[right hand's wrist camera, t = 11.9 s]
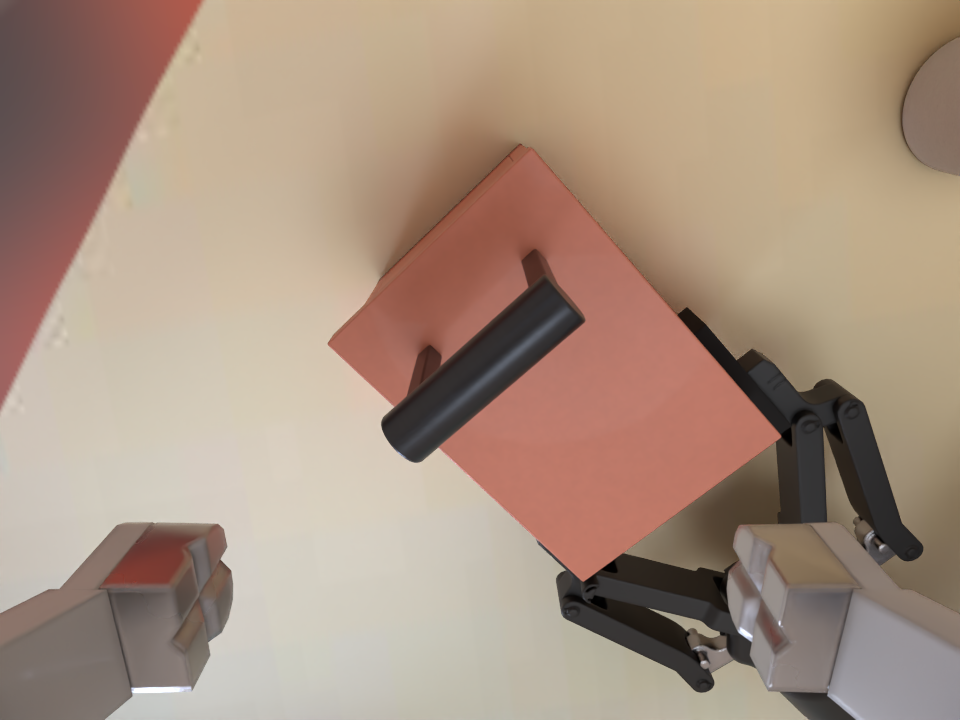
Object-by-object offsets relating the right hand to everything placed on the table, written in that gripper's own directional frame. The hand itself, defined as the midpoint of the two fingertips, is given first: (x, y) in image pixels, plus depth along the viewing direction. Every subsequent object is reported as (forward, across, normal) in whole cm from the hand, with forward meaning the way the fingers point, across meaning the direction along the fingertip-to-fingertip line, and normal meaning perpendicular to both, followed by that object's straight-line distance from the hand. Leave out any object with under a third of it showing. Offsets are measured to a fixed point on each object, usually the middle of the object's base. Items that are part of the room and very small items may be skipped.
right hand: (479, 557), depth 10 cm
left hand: (+19, -5, +6) cm, 21 cm away
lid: (+15, -3, +3) cm, 16 cm away
